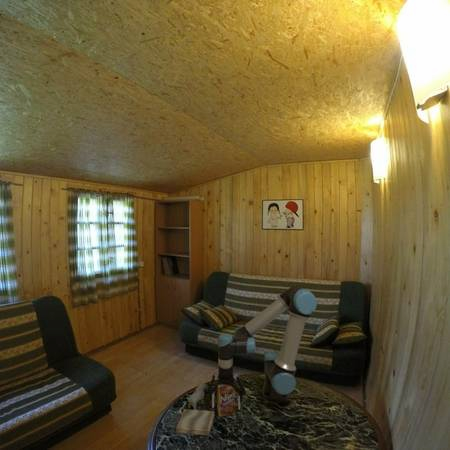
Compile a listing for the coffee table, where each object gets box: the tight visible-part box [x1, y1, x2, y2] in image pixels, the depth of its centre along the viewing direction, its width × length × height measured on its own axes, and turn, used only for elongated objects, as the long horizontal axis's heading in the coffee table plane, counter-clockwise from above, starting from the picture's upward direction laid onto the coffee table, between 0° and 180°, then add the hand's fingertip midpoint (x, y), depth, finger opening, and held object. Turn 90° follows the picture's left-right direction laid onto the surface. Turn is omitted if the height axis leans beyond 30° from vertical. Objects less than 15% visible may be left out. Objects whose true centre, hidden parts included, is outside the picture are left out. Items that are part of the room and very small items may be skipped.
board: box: [175, 408, 215, 436], centre depth 134 cm, size 16×14×2 cm
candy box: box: [216, 383, 236, 418], centre depth 141 cm, size 9×4×15 cm, turn 103°
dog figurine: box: [187, 381, 207, 410], centre depth 149 cm, size 5×13×11 cm, turn 147°
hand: (226, 407), depth 141 cm, fingers open, 13 cm apart
